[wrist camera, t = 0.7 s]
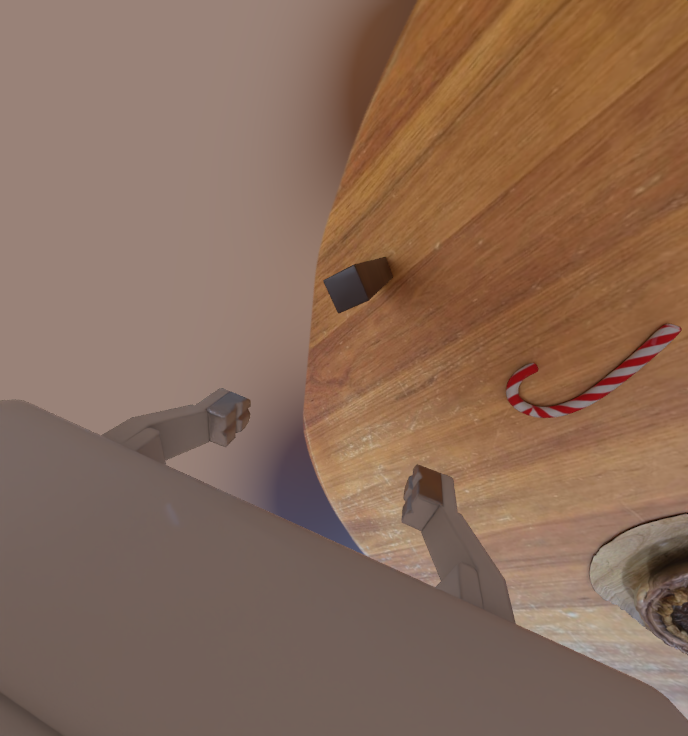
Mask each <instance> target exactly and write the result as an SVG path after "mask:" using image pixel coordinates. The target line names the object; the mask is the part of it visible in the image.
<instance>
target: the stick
mask: <svg viewBox="0 0 688 736" xmlns="http://www.w3.org/2000/svg"><path fill="white" fill-rule="evenodd" d="M392 278H393V276H392V273H391V270H390V268H389V265H388V262H387V260H386V257H383V258H379V259H375V260H371V261H367V262H363V263H358V264H354V265H352V266H350V267H348V268H346V269H344V270H343V271H341V272H339V273H337V274H335V275H333V276H331V277H329V278H327V279H325V280H324V284H325V286H326V288H327V290H328V292H329V294H330V297H331V299H332V301H333V303H334V305H335V307H336V310H337V312H338V313H341V312H343V311H346V310H348V309H350V308H353V307H355V306H357V305H359V304H362V303H364V302H366V301H369V300H370V299H371V298H372V297H373V296H374V295H375V294H376V293H377V292H378V291H379V290H380V289H381V288H382V287H384V286H385V285H386V284H387V283H388V282H389V281H390V280H391V279H392Z"/></svg>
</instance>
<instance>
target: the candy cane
mask: <svg viewBox="0 0 688 736" xmlns="http://www.w3.org/2000/svg"><path fill="white" fill-rule="evenodd" d="M680 332H681V328H680V327H679V326H676V325H673V324H665V325H663V326H662V327H661V328H659V329H658V330H657V331H656V332H655V333H654V334H653V335H652V336H651V337H650V338H649V339H648V340H647V341H646V342H645V343H644V344H643V345H642V346H641V347H640V348H639V349H637V350H636V351H635V352H634V353H633V354H632V355H631V356H630V357H629V358H628V359H627V360H625V361H624V362H623V363H622V364H621V365H620V366H618V367H617V368H616V369H615V370H614V371H612V372H611V373H610V374H609V375H608V376H606V377H605V378H604V379H603V380H601V381H600V382H599V383H597V384H596V385H595V386H593V387H592V388H591V389H589V390H588V391H586V392H585V393H583V394H582V395H580V396H578V397H576V398H574V399H572V400H570V401H568V402H565V403H563V404H559V405H556V406H550V407H538V406H534V405H530V404H528V403H526V402H525V401H523V400H522V399H521V398H520V396H519V393H518V389H519V385H520V383H521V382H522V381H523V380H524V379H525V378H526V377H528V376H530V375H532V374H534V373H536V372H538V367H537V365H536V364H535V363H531V364H528V365H526V366H524V367H522V368H521V369H519V370H518V371H516V372H515V373H514V374H513V375H512V376H511V378H510V379H509V381H508V384H507V388H506V395H507V399H508V401H509V402H510V404H511V405H512V406H513V407H514V408H515V409H517V410H518V411H520V412H522V413H524V414H526V415H530V416H533V417H540V418H551V417H559V416H564V415H567V414H570V413H573V412H576V411H579V410H581V409H583V408H585V407H587V406H589V405H591V404H593V403H595V402H596V401H598V400H600V399H601V398H603V397H604V396H606V395H607V394H609V393H610V392H611V391H613V390H614V389H615V388H617V387H618V386H619V385H621V384H622V383H623V382H625V381H626V380H627V379H628V378H630V377H631V376H632V375H634V374H635V373H636V372H637V371H638V370H640V369H641V368H642V367H643V366H644V365H646V364H647V363H648V362H649V361H650V360H651V359H652V358H654V357H655V356H656V355H657V354H658V353H659V352H660V351H661V350H662V349H664V348H665V347H666V346H667V345H668V344H669V343H670V342H671V341H672V340H673V339H674V338H675V337H676V336H677V335H678V334H679V333H680Z"/></svg>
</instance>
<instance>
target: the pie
mask: <svg viewBox="0 0 688 736" xmlns="http://www.w3.org/2000/svg"><path fill="white" fill-rule="evenodd" d="M590 580H591V583H592V586H593V588H594V590H595V591H596V592H597V593H598V594H599V595H600V596H601V597H602V598H603V599H604V600H606V601H610V602H611V603H612V604H616V605H618V606H620V609H621V610H625V611H626V612H627V613H629V615H631V617H632V618H635V619H636V620H637V621H638V622H639V623H640V624H641V625H642V626H644V627H646V629H648V630H649V631H651V632H652V633H653V634H654V635H655V636H657V637H658V638H660V639H662V640H663V642H664V643H665V644H667V645H669V646H671V647H675V648H676V649H679V650H680V651H682V652H683V653H685V654H687V655H688V514H684V515H680V516H676V517H670V518H666V519H662V520H659V521H655V522H651V523H648V524H644V525H641V526H638V527H636V528H634V529H631V530H629V531H626V532H625V533H623V534H621V535H619V536H618V537H616V538H615V539H614V540H612V541H611V542H610V543H608V544H606V545H604V546H603V547H601V548H600V550H599V552H598V553H597V555H596V556H594V557H593V561H592V563H591V567H590Z"/></svg>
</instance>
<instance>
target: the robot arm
mask: <svg viewBox="0 0 688 736" xmlns="http://www.w3.org/2000/svg"><path fill="white" fill-rule="evenodd" d="M250 405H251V402H250V400H249V399H247V398H245V397H243V396H240V395H238V394H235V393H233V392H230V391H228V390H225V389H223V388H221V389H218V390H217V391H215V392H214V393H212V394H211V395H209V396H208V397H206V398H205V399H203V400H202V401H201V402H199V403H198V404H196V405H195V406H194V405H188V406H183V407H179V408H174V409H169V410H165V411H160V412H156V413H151V414H146V415H142V416H138V417H132V418H130V419H129V420H127V421H125V422H123V423H122V424H120V425H118V426H116V427H115V428H113V429H111V430H110V431H108V432H106V433H104V434H103V435H99V434H97V433H94V432H92V431H90V430H88V429H86V428H83V427H81V426H79V425H77V424H75V423H72V422H70V421H68V420H66V419H63V418H61V417H59V416H57V415H55V414H53V413H50V412H48V411H46V410H44V409H42V408H39V407H38V406H35V405H33V404H31V403H29V402H26V401H22V400H2V401H0V736H688V720H687V719H686V718H685V717H684V716H683V714H682V713H681V712H680V711H679V710H678V709H677V708H676V707H675V706H674V705H673V704H672V703H671V702H670V700H669V699H668V698H666V697H665V696H664V695H663V694H662V693H660V692H659V691H657V690H656V689H655V688H653V687H652V686H650V685H648V684H646V683H644V682H642V681H640V680H638V679H636V678H633V677H631V676H629V675H627V674H625V673H622V672H620V671H618V670H616V669H614V668H611V667H609V666H607V665H605V664H603V663H600V662H598V661H596V660H594V659H592V658H589V657H587V656H585V655H583V654H580V653H578V652H576V651H574V650H572V649H569V648H567V647H565V646H563V645H561V644H558V643H556V642H554V641H552V640H550V639H547V638H545V637H543V636H541V635H539V634H536V633H534V632H532V631H530V630H528V629H525V628H523V627H521V626H519V625H517V624H516V623H515V619H514V615H513V611H512V606H511V602H510V598H509V594H508V590H507V586H506V581H505V579H504V577H503V576H502V574H501V573H500V571H499V570H498V568H497V567H496V565H495V564H494V562H493V561H492V559H491V558H490V557H489V555H488V554H487V552H486V551H485V549H484V548H483V546H482V545H481V543H480V542H479V540H478V539H477V537H476V536H475V534H474V533H473V531H472V530H471V528H470V527H469V525H468V524H467V522H466V521H465V519H464V518H463V516H462V515H461V514H460V513H458V512H457V504H456V497H455V489H454V481H453V478H452V477H450V476H447V475H445V474H442V473H439V472H437V471H434V470H431V469H429V468H426V467H423V466H421V465H418V464H417V465H416V466H415V467H414V469H413V475H412V476H409V478H408V480H407V483H406V486H405V490H404V500H405V504H404V506H403V510H402V523H404V524H407V525H409V526H411V527H413V528H415V529H418V530H420V531H422V532H421V533H422V535H423V538H424V540H425V543H426V545H427V548H428V550H429V553H430V555H431V557H432V560H433V562H434V565H435V567H436V570H437V572H438V575H439V577H440V579H441V582H440V583H439V584H438V585H437V586H436V587H433V586H431V585H429V584H426V583H424V582H422V581H420V580H418V579H415V578H413V577H411V576H409V575H407V574H404V573H402V572H400V571H398V570H396V569H393V568H391V567H389V566H387V565H385V564H382V563H380V562H378V561H376V560H374V559H371V558H369V557H367V556H365V555H363V554H360V553H358V552H356V551H354V550H352V549H349V548H347V547H345V546H343V545H341V544H338V543H336V542H334V541H332V540H330V539H327V538H325V537H323V536H320V535H319V534H316V533H314V532H312V531H310V530H307V529H305V528H303V527H301V526H299V525H297V524H294V523H292V522H290V521H288V520H286V519H283V518H281V517H279V516H277V515H275V514H272V513H270V512H268V511H266V510H264V509H261V508H259V507H257V506H255V505H253V504H250V503H248V502H246V501H244V500H241V499H239V498H237V497H235V496H233V495H231V494H228V493H226V492H224V491H222V490H219V489H217V488H215V487H213V486H211V485H209V484H206V483H204V482H202V481H200V480H198V479H195V478H193V477H191V476H189V475H187V474H184V473H182V472H180V471H178V470H176V469H173V468H171V467H169V466H167V465H166V462H165V460H168V459H170V458H172V457H175V456H177V455H180V454H182V453H184V452H187V451H189V450H191V449H194V448H196V447H198V446H201V445H203V444H206V443H208V442H209V441H211V442H213V443H216V444H219V445H221V446H224V447H226V446H228V444H229V443H230V442H231V441H232V440H233V439H234V438H235V434H236V433H238V432H241V431H242V430H243V429H244V428H245V427H246V425H247V424H248V422H249V419H250V412H249V410H248V408H249V407H250Z"/></svg>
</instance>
